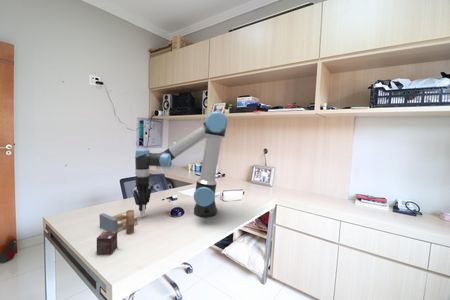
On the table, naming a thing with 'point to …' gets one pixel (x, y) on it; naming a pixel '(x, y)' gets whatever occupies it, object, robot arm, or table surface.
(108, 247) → the box
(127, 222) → the dowel
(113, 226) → the board wall
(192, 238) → the table surface
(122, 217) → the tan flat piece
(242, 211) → the table surface
